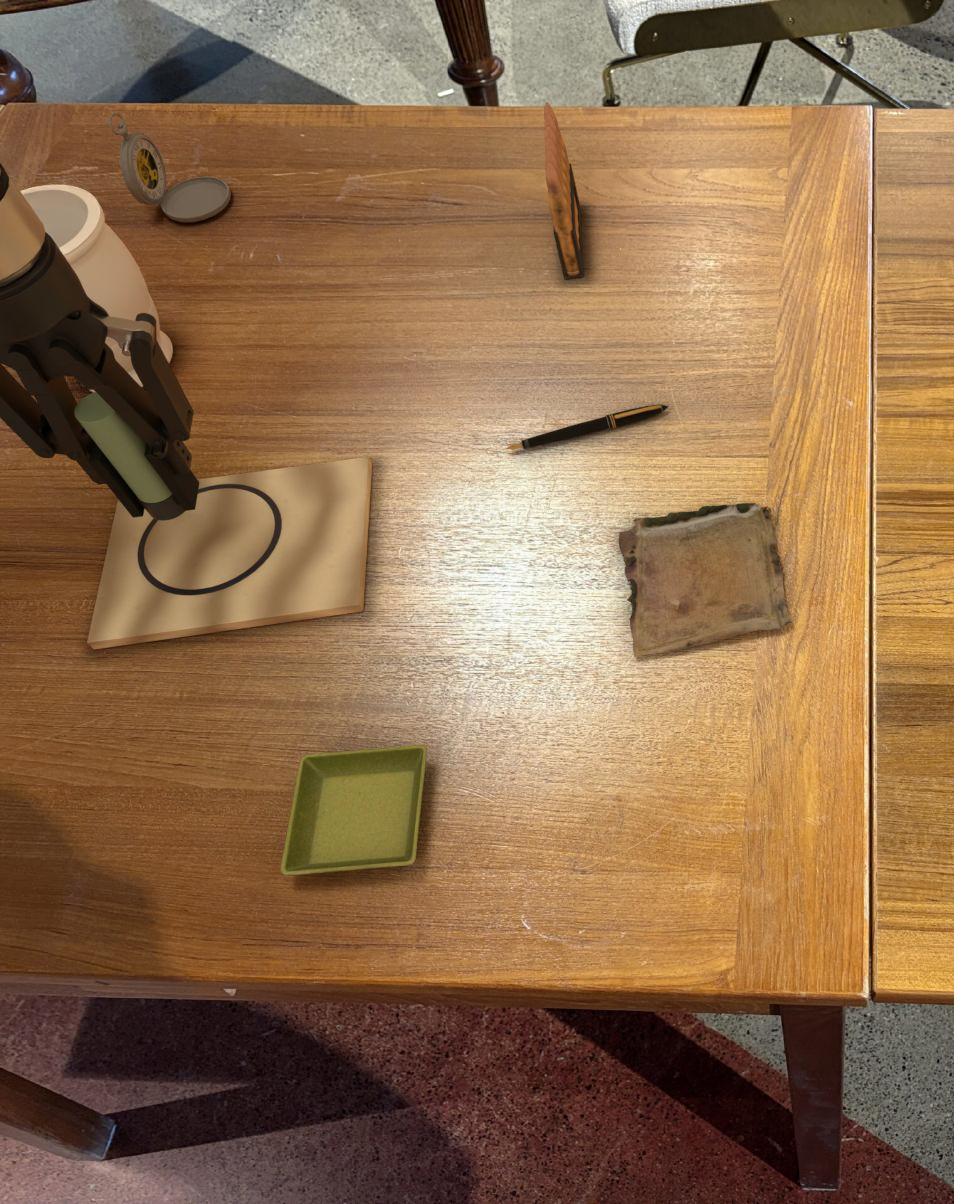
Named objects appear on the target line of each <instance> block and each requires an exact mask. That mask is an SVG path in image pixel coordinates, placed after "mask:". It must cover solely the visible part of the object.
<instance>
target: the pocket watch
mask: <svg viewBox="0 0 954 1204" xmlns="http://www.w3.org/2000/svg"><path fill="white" fill-rule="evenodd" d="M114 116H117V117H118V118H120V120H121V122H119V123H117V124H116V127H117V128H118V129H117V131H116V130H115V129H114V128H113V125H112V119H113V117H114ZM108 128H109V129H110V131H111V133H113V134H114V135H116V136H122V137H123V138H122V140H121V142H120V147H119V166H120V171H121V175H122V178H123V181H124V183H125V185H126V188H127V189H128V191H129V192H130V193H129V194H131V196H132V197H133V198H134V199H135V200H136V201H137V202H139V203H140V204H143V205H146V206H158V205H159V206H160V208H161V210H162V212H163V213H164V214H165V216H166V217H168V218H169V219H171V220H172V221H176V222H179V223H197V222H201V221H205V220H208V219H210V218H213V217H215V216H216V215H218V214H219V213H221V212H223V210H224V209H225V208H226V207H227V206H228V204H229V202H230V201H231V196H232V194H231V189H230V187H229V185H228V184H227V182H226V181H224V180H223V179H220V178H219V177H216V176H210V175H209V176H208V175H207V176H206V175H202V176H196V177H189V178H186V179H184V180H181V181H179V182H177V183H176V184H174V185H173V186H171V187H170V188H169V189H167V174H166V173H167V172H166V168H165V164H164V161H163V157H162V155H161V153H160V151H159V148H158V147H157V146H156V144H155V143H154V142H153V140H152V139H151V137H149V136H148V135H147V134H145V133H143V132H138V131H137V132H136V131H135V132H131V133H128V131H129V129H128V126H127V125H126V120H125V118H124V116H123V115H122V114H121V113H119V112H112V113H111V114H110V115H109V117H108Z"/></svg>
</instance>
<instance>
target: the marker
mask: <svg viewBox="0 0 954 1204" xmlns="http://www.w3.org/2000/svg"><path fill="white" fill-rule="evenodd" d="M74 414H75V417H76V418H77V420H78V421H79V422H80V424H81V425H82V426H83V427H84V429H85V430H86V431H87V433H88V434H89V435H90V436H91V438H92V439H93V440H94V442H95V443H96V444H97V445H98V447H99V448H100V449H101V451H102V452H103V453H104V454H105V456H106V457H107V458H108V460H109V461H110V462H111V463H112V465H113V466H114V467H115V469H116V470H117V471H118V472H119V474H120V475H121V476H122V478H123V479H124V480H125V481H126V483H127V484H128V485H129V487H130V488H131V489H132V490H133V492H134V493H135V494H136V497H137V499H138V500H139V502H140V503H141V504H142V506H143V507H144V508H145V509H146V511H147V512H148V513H149V515H150V516H151V517H152V518H154V519H156V520H161V521H165V520H171V519H174V518H176V517H178V516H180V515H181V514H183V513H184V512H185V510H184V509H183V507H182V506H181V505H180V503H179V502H178V501H177V499H176V498H175V497H174V495H173V494H172V492H171V491H170V490H169V488H168V487H167V486H166V484H165V483H164V482H163V480H162V479H161V477H160V476H159V475H158V473H157V472H156V471H155V469H154V468H153V467H152V465H151V464H150V463H149V461H148V460H147V458H146V457H145V456H144V453H145V448H146V442H145V441H144V440H143V439H142V438H141V437H140V436H139V435H138V434H137V433H136V432H135V431H134V430H133V429H132V428H131V427H130V426H129V425H128V424H127V423H126V422H125V421H124V420H123V419H122V418H121V417H120V416H119V415H118V414H117V413H116V412H115V411H114V410H113V409H112V408H111V407H110V406H109V405H108V404H107V403H106V402H105V401H104V400H103V399H102V398H101V397H100V396H99V395H98V394H97V393H96V392H95V393H94V392H91V393H90V394H87V395H85V396H84V397H82V398H81V399H80V400H79V401H78V402H77V405H76V407H75V410H74Z"/></svg>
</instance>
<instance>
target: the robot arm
mask: <svg viewBox="0 0 954 1204" xmlns="http://www.w3.org/2000/svg"><path fill="white" fill-rule="evenodd" d="M106 337H110V338H113V339H114V340H116V341H117V343H118V345H119V347H120V348H121V349H122V354H123V355H125V356H131V362H132V366H133V368H134V370H135V372H136V374H137V376H138V378H139V379H140V381H141V383H142V385H143V386H144V387H141V386H140V385H139V384H138V383H137V382H136V381H135V380H134V379H133V378H132V377H131V376H130V375H129V374H128V373H127V372H126V370H125V369H124V368H123V367H122V366H121V365H120V364H119V363H118V362H117V361H116V359H115V356H114V353H113V351H112V349H111V348H110V347H109V346H108V345H107V344H106V343H105V341H106ZM6 367H8V368H10V369H12V370H13V371H15V373H16V374H17V376H18V378H19V379H20V381H21V383H22V384H21V383H20V382H19V381H18V380H17V379H16V378H15V377H14V376H13V375H12V374H11V373H10V372H9V370H7V368H6ZM65 377H72V378H74V379H75V380H76V381H77V382H78V383H79V384H80V385H81V386H82V385H83V386H84V387H83V386H82V387H83V388H84V389H85V390H87V391H89V390H94V391H95V392H96V393H97V394H98V395H99V396H100V397H101V398H102V399H103V400H104V401H105V402H106V403H107V404H108V405H109V406H110V407H111V408H112V409H113V410H114V411H115V412H116V413H117V414H118V415H119V416H120V417H121V418H122V419H123V420H124V421H125V422H126V423H127V424H128V425H129V426H130V427H131V428H132V429H133V430H134V431H135V432H136V433H137V434H138V435H139V436H140V437H141V438H142V439H143V440H144V441H145V442H146V448H145V453H144V456H145V457H146V458H147V460H148V461H149V463H150V464H151V465H152V467H153V468H154V469H155V471H156V472H157V473H158V475H159V476H160V477H161V479H162V480H163V482H164V483H165V484H166V486H167V487H168V488H169V490H170V491H171V492H172V494H173V495H174V497H175V498H176V499H177V501H178V502H179V503H180V505H181V506H182V507H183V509H184V510H185V511H189V510H195V507H196V501H197V495H198V489H199V481H198V480H197V477H196V475H195V474H194V473H193V471H192V470H191V465H192V459H193V457H192V453H191V451H190V450H189V449H188V447H187V445H186V444H185V443H184V442H187V441H188V440H189V439H190V438H191V431H192V426H193V420H194V416H195V415H194V414H195V412H194V408H193V407H192V405H191V403H190V401H189V399H188V397H187V395H186V394H185V391H184V390H183V388H182V386H181V384H180V382H179V380H178V378H177V377H176V374H175V372H174V370H173V369H172V367H171V365H170V363H168V361H167V359H166V357H165V355H164V353H163V351H162V349H161V347H160V346H159V344H158V342H157V340H156V319H155V318H154V317H153V316H152V315H150V314H147V313H140V314H138V315H137V316H136V320H135V321H133V320H127V319H122V318H116V317H111V316H109V315H108V313H107V312H106V310H105V309H104V308H102V307H101V306H100V305H98V304H96V303H95V302H93V301H92V300H91V299H90V298H89V297H88V296H87V295H86V293H85V291H84V289H83V286H82V284H81V282H80V280H79V278H78V276H77V274H76V273H75V271H74V270H73V268H72V267H71V265H70V264H69V262H68V261H67V260H66V258H65V257H64V255H63V254H62V252H61V251H60V249H59V248H58V246H57V245H56V243H55V242H54V240H53V239H52V238H51V236H50V235H49V234H48V233H46V232H45V229H44V225H43V223H42V222H41V220H40V219H39V218H38V216H37V215H36V213H35V212H34V210H33V209H32V207H31V206H30V204H29V203H28V202H27V200H26V199H25V197H24V196H23V194H22V193H21V190H20V188H19V187H18V186H17V184H16V183H15V181H14V180H13V179H12V177H11V176H10V174H9V173H8V171H7V170H6V168H5V167H4V166H3V165H2V163H1V162H0V419H1V420H2V421H3V422H4V423H5V424H6V426H7V427H9V429H10V430H12V431H13V432H14V433H15V435H16V436H18V438H20V439H21V441H22V442H23V443H24V444H25V445H26V446H27V447H29V449H30V450H31V451H32V452H33V453H34V454H35V455H37V457H40V458H43V459H52V458H54V457H55V455H63V456H66V457H67V458H68V459H70V460H71V461H75V462H76V463H77V464H78V466H80V467H81V469H82V470H83V471H84V472H85V474H86V475H87V476H88V477H89V479H90V480H91V481H92V482H93V483H95V484H96V485H98V486H102V485H106V486H107V488H109V490H110V491H111V492H112V494H113V495H114V496H115V497H116V498H117V501H118V500H119V501H120V502H121V503H122V505H123V506H124V507H125V508H126V510H127V511H128V512H129V513H130V515H131V516H132V517H133V518H135V517H142V516H143V514H144V509H145V508H144V507H143V506H142V504H141V503H140V502H139V500H138V499H137V497H136V494H135V493H134V492H133V490H132V489H131V488H130V487H129V485H128V484H127V483H126V481H125V480H124V479H123V478H122V476H121V475H120V474H119V472H118V471H117V470H116V469H115V467H114V466H113V465H112V463H111V462H110V461H109V460H108V458H107V457H106V456H105V454H104V453H103V452H102V451H101V449H100V448H99V447H98V445H97V444H96V443H95V442H94V440H93V439H92V438H91V436H90V435H89V434H88V433H87V431H86V430H85V429H84V427H83V426H82V425H81V424H80V422H79V421H78V420H77V418H76V417H75V414H74V410H75V407H76V405H77V404H78V402H77V399H76V398H75V396H74V394H73V392H72V390H71V388H70V386H69V384H68V382H67V379H66V378H65Z"/></svg>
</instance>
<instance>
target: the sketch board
mask: <svg viewBox="0 0 954 1204" xmlns="http://www.w3.org/2000/svg"><path fill="white" fill-rule="evenodd" d="M372 463H373V462H372V461H371V458H370V457H369V456H365V457H357V458H356V457H355V458H347V459H343V460H342V459H341V460H334V461H325V462H320V463H319V462H318V463H312V464H304V465H297V466H295V465H294V466H289V467H282V468H272V469H266V470H258V471H251V472H250V471H249V472H241V473H236V474H235V473H234V474H229V475H228V474H227V475H220V476H214V477H213V476H212V477H205V478H198V479H197V478H196V479H197V480H198V481H199V489H198V495H197V501H196V507H195V510H189V511H185V512H184V513H183V514H181V515H180V516H178V517H176V518H174V519H171V520H165V521H161V520H156V519H154V518H152V517H151V516H150V515H149V513H148V512H147V511H146V509H144V514H143V516H142V517H135V518H133V517H132V516H131V515H130V513H129V512H128V511H127V510H126V508H125V507H124V506H123V505H122V503H121V502H120V501H119V500H118V499H117V503H116V506H115V512H114V516H113V520H112V525H111V530H110V535H109V539H108V543H107V548H106V552H105V557H104V562H103V567H102V571H101V575H100V580H99V585H98V589H97V594H96V598H95V602H94V603H95V604H94V608H93V613H92V619H91V621H90V626H89V630H88V637H87V640H86V643H87V645H88V646H89V647H90V648H91V649H93V650H99V649H100V650H101V649H106V648H107V649H108V648H115V647H121V646H129V645H137V644H144V643H149V642H156V641H163V640H164V641H165V640H170V639H177V638H184V637H191V636H198V635H199V636H200V635H205V634H215V633H221V632H229V631H234V630H243V629H248V628H255V627H263V626H269V625H275V624H276V625H277V624H285V623H291V622H298V621H303V620H311V619H318V618H325V617H332V616H339V615H347V614H354V613H360V612H361V613H362V612H364V610H365V609H364V607H365V593H366V592H365V591H366V575H367V574H366V573H367V559H368V558H367V557H368V539H369V525H370V510H371V509H370V507H371V492H372V491H371V490H372V473H373V464H372Z"/></svg>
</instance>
